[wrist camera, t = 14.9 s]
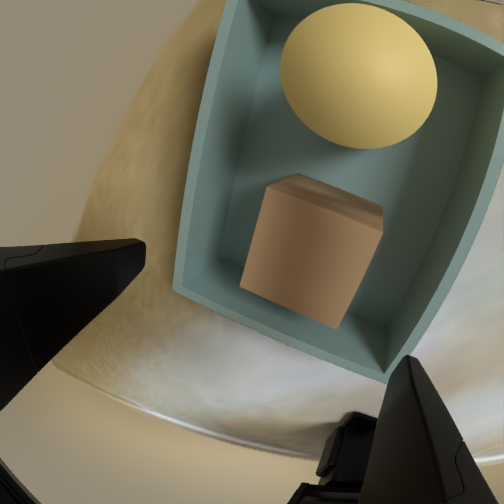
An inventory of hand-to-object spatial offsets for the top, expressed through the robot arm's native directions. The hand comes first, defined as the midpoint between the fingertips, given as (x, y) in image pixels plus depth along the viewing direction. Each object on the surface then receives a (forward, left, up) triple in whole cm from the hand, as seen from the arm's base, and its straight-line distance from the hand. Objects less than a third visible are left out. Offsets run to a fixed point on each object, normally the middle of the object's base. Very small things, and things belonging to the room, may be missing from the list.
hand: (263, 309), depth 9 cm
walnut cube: (0, 0, -10) cm, 10 cm away
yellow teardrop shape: (0, -7, -9) cm, 12 cm away
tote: (0, -3, -10) cm, 11 cm away
